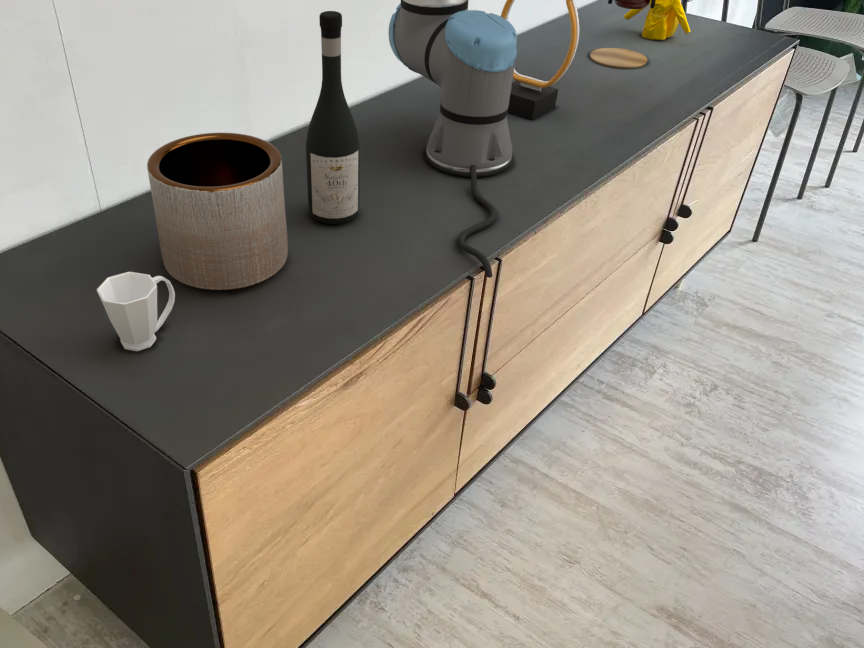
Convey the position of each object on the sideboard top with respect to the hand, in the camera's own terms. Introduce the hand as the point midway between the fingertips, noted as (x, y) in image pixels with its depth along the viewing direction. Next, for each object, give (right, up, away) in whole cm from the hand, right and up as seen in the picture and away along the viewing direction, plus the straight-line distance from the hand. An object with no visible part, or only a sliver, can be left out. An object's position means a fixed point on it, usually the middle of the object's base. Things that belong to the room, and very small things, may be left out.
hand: (631, 4), depth 155 cm
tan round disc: (+6, 0, +26) cm, 27 cm away
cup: (-80, -69, -56) cm, 120 cm away
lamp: (-21, -20, +3) cm, 29 cm away
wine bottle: (-58, -49, -32) cm, 82 cm away
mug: (0, -1, 0) cm, 1 cm away
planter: (-73, -58, -43) cm, 102 cm away
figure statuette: (+19, +10, +39) cm, 45 cm away
